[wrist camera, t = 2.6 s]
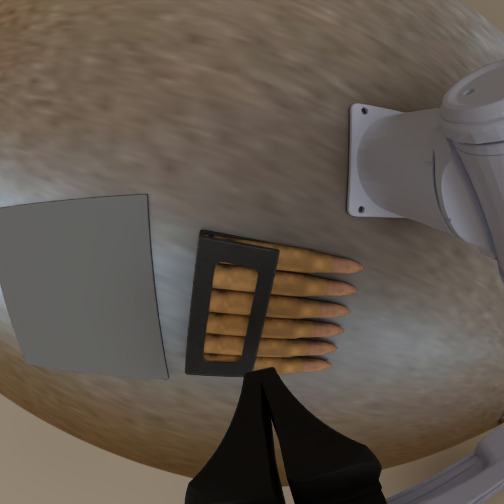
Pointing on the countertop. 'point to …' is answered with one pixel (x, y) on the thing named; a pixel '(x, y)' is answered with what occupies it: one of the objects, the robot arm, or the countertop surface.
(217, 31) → the countertop surface
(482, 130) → the robot arm
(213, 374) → the ammunition clip
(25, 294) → the mat
